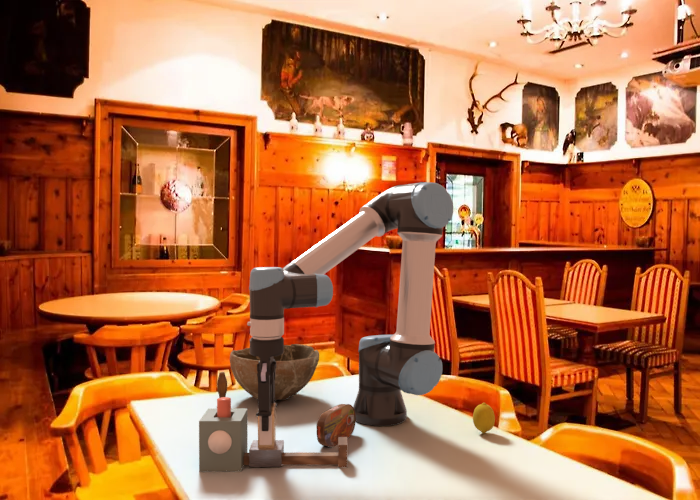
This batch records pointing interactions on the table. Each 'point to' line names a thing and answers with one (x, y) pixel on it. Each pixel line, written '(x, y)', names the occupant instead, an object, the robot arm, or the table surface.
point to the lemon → (483, 418)
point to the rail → (315, 457)
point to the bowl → (277, 370)
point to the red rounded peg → (224, 407)
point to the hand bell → (222, 385)
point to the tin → (335, 424)
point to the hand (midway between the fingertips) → (266, 440)
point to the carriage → (267, 448)
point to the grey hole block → (222, 441)
